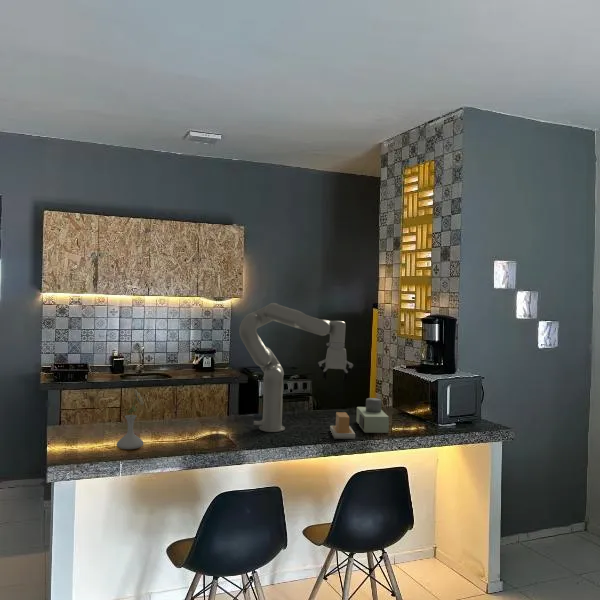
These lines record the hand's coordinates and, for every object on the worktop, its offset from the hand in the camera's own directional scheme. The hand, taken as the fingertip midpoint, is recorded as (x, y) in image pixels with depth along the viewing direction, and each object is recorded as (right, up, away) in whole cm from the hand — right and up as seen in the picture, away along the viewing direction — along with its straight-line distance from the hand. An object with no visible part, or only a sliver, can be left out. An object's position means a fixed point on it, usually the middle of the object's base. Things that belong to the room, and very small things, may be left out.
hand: (334, 380), depth 300 cm
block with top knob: (+20, -26, +13) cm, 35 cm away
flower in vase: (-90, -24, -40) cm, 101 cm away
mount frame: (+3, -26, -5) cm, 27 cm away
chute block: (+3, -25, -5) cm, 26 cm away
